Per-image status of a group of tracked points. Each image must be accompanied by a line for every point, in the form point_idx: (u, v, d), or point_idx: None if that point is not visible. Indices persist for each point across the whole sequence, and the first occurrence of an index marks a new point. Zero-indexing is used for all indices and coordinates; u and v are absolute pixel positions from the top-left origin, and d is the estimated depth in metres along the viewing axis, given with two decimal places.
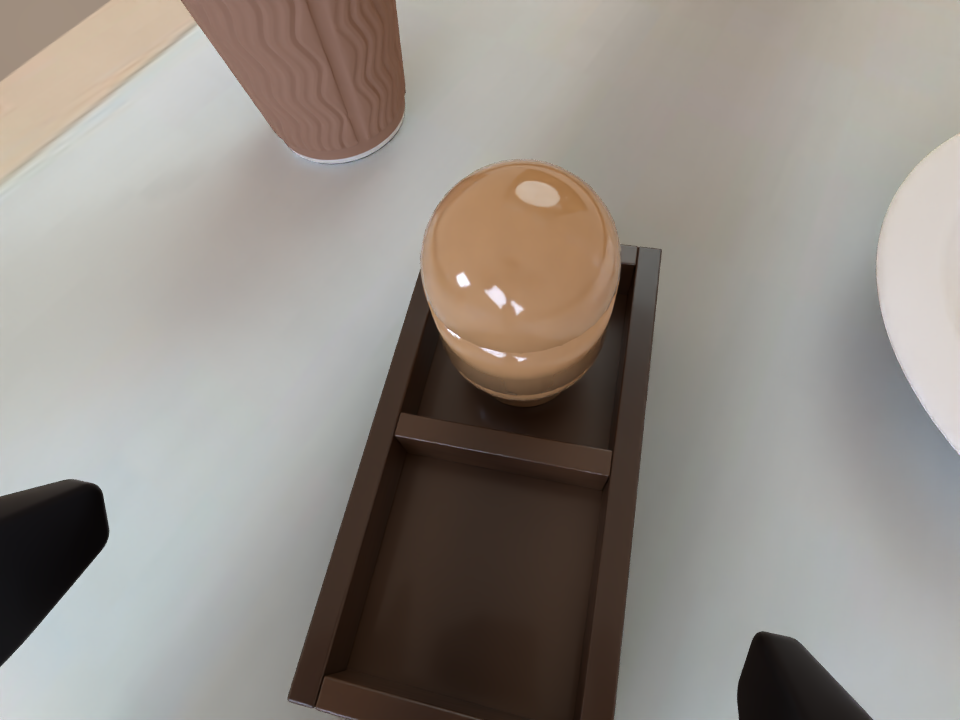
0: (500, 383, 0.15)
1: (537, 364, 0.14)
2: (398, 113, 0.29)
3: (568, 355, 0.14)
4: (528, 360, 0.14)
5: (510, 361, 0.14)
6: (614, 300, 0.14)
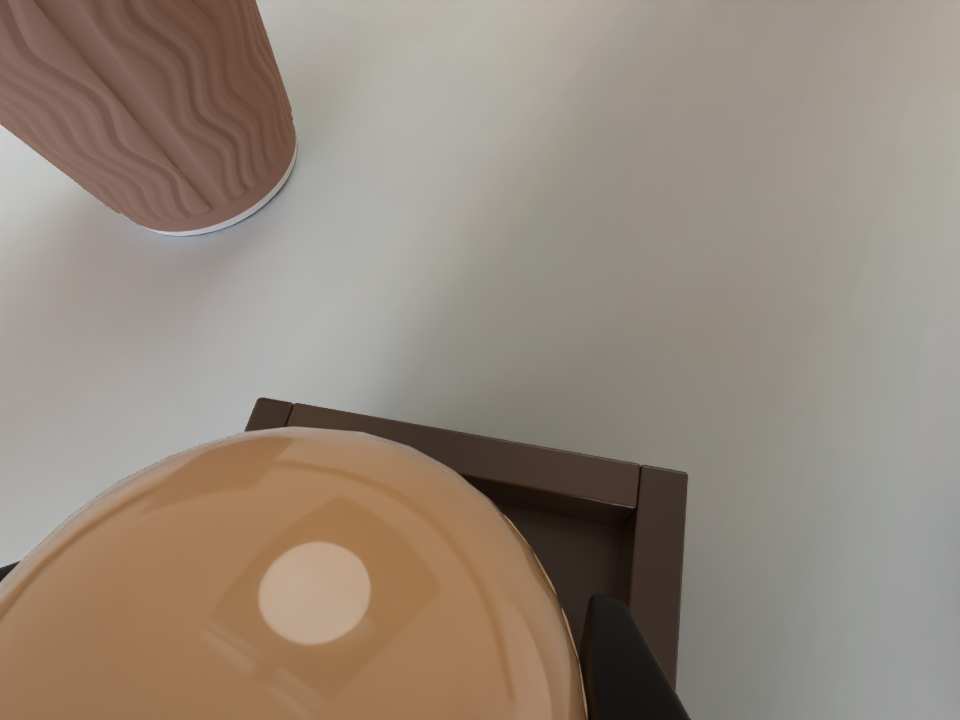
0: None
1: None
2: (279, 161, 0.19)
3: None
4: None
5: None
6: None
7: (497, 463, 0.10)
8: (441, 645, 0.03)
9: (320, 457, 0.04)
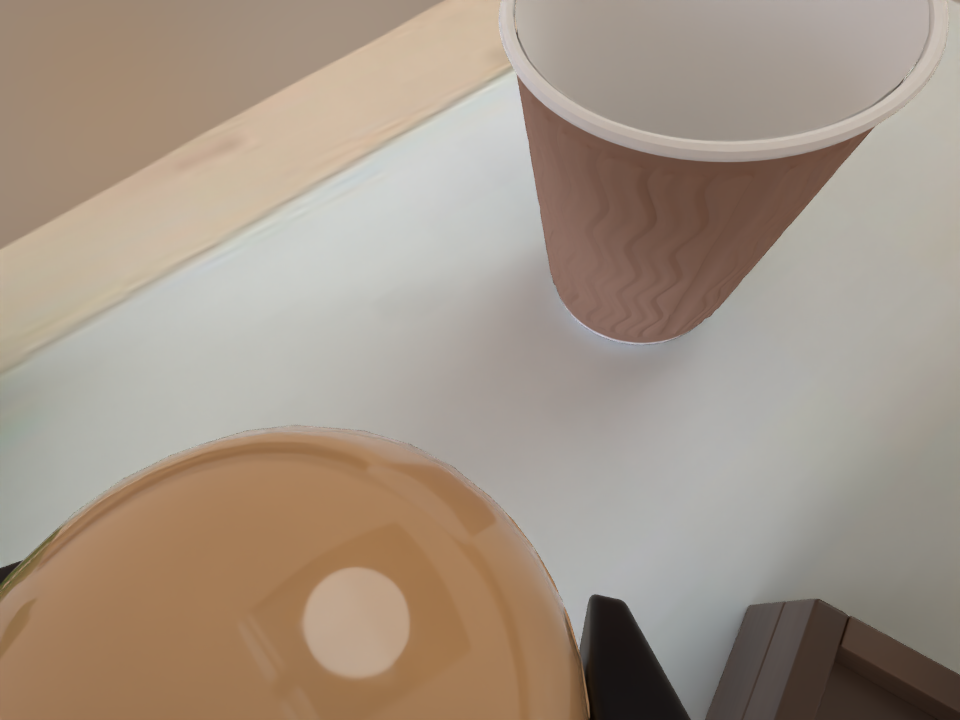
0: None
1: None
2: None
3: None
4: None
5: None
6: None
7: None
8: (444, 642, 0.03)
9: (323, 455, 0.04)
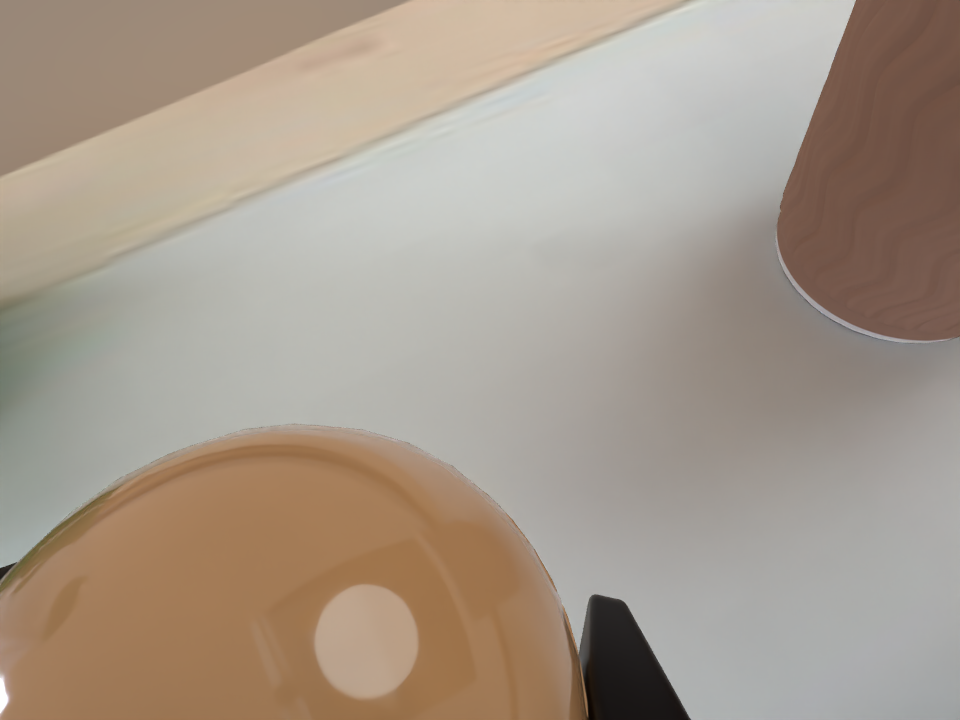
0: None
1: None
2: None
3: None
4: None
5: None
6: None
7: None
8: (442, 640, 0.03)
9: (321, 454, 0.04)
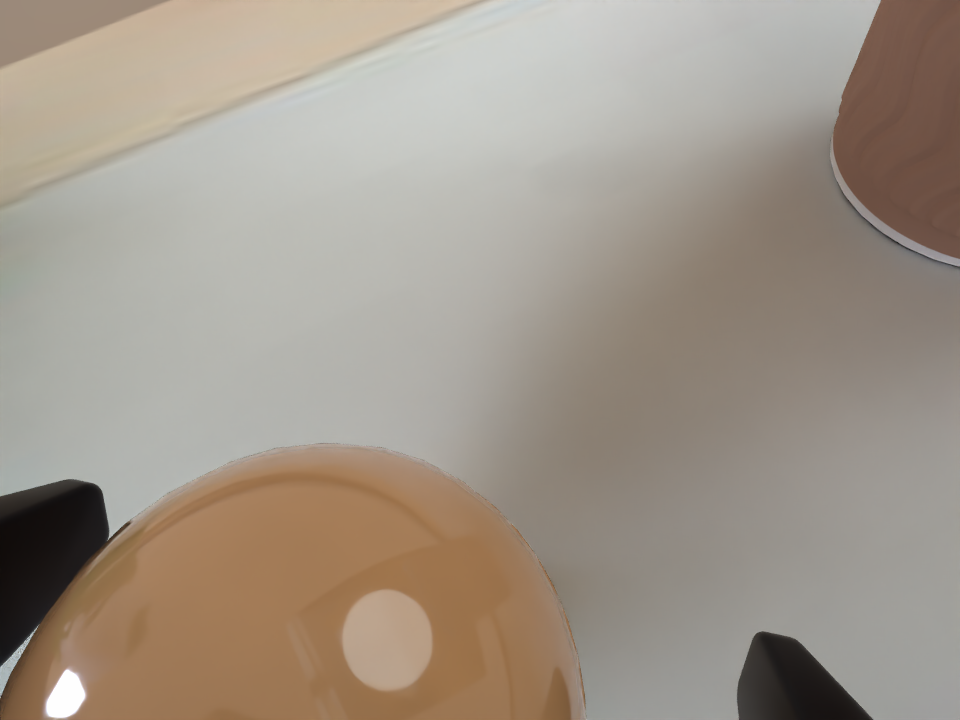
0: None
1: None
2: None
3: None
4: None
5: None
6: None
7: None
8: (458, 640, 0.04)
9: (348, 473, 0.05)
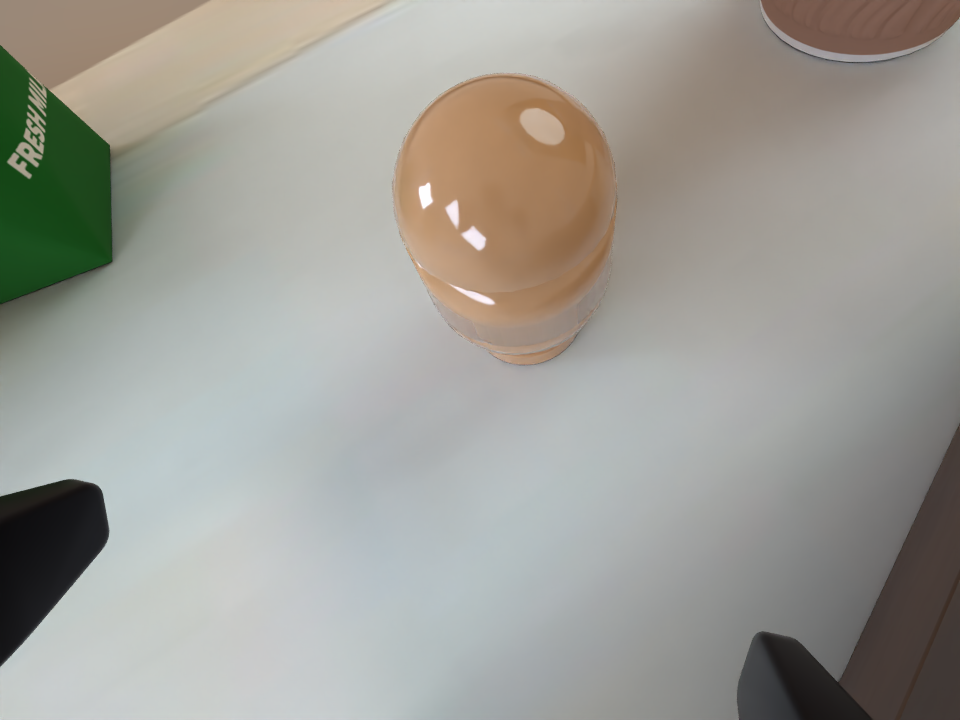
0: (496, 333, 0.14)
1: (532, 304, 0.13)
2: None
3: (567, 291, 0.13)
4: (522, 300, 0.12)
5: (502, 303, 0.12)
6: (613, 225, 0.13)
7: None
8: (566, 97, 0.11)
9: None
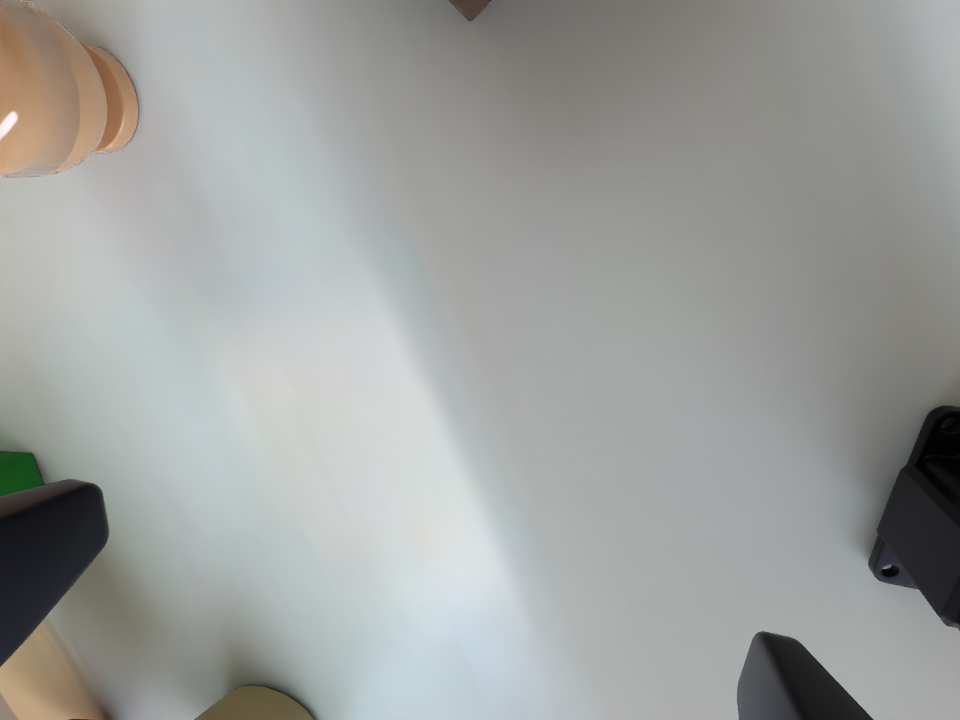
0: (57, 123, 0.16)
1: (8, 79, 0.15)
2: None
3: (0, 44, 0.15)
4: (0, 87, 0.15)
5: (4, 106, 0.15)
6: None
7: None
8: None
9: None
